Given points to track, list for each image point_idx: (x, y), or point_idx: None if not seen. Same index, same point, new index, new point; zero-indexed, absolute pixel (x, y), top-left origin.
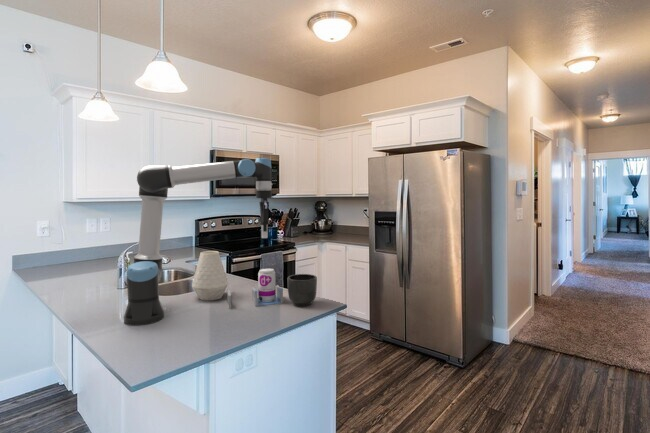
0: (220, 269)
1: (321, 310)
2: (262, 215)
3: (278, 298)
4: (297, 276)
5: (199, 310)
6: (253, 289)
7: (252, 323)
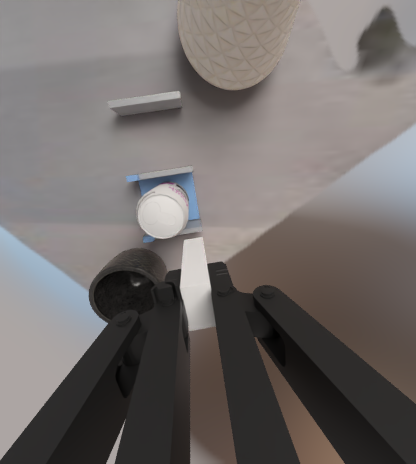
0: (218, 33)
1: None
2: (130, 407)
3: None
4: None
5: (109, 25)
6: (167, 170)
7: (18, 170)
